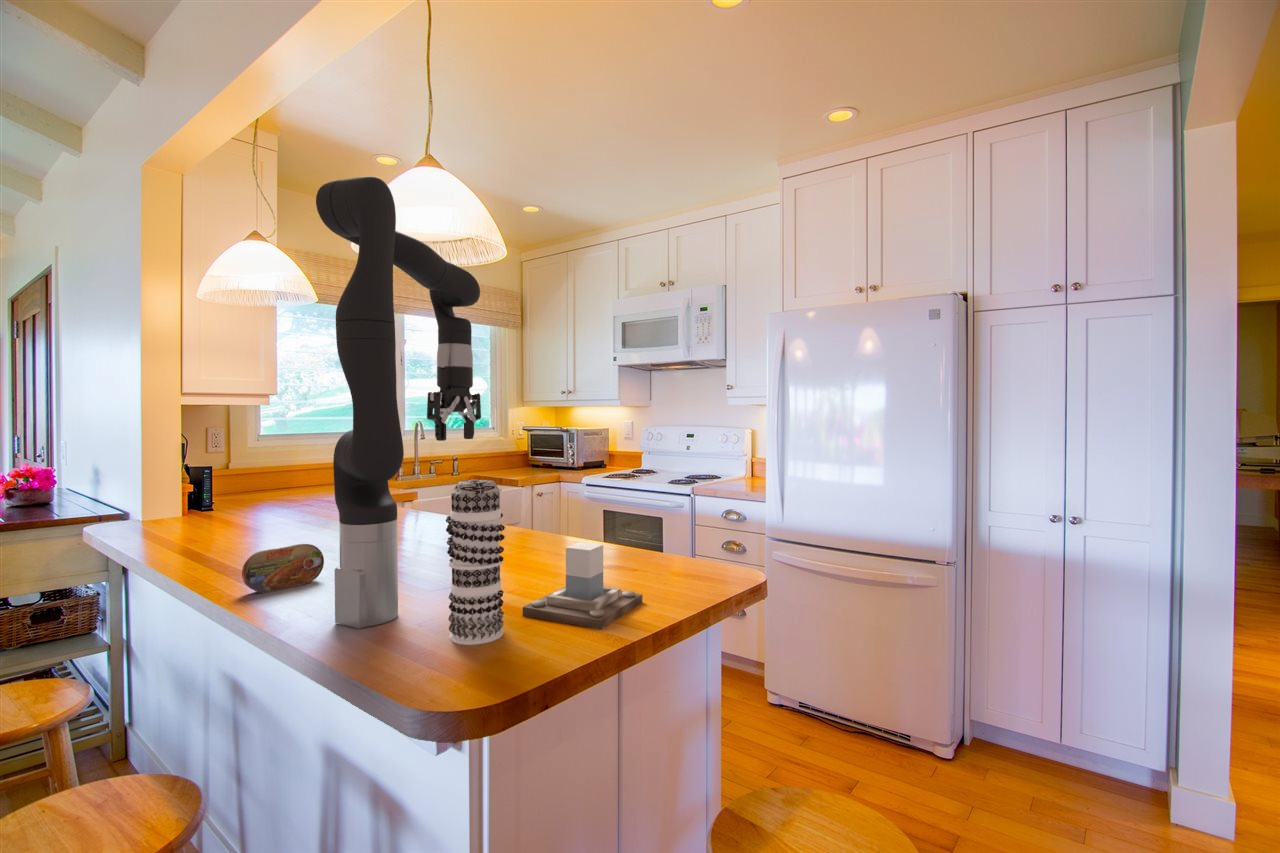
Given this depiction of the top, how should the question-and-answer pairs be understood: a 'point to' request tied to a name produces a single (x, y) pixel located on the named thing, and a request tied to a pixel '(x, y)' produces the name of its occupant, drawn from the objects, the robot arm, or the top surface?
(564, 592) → the socket plate
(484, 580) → the decorative candle
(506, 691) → the top surface
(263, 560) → the tin
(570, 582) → the post
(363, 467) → the robot arm
